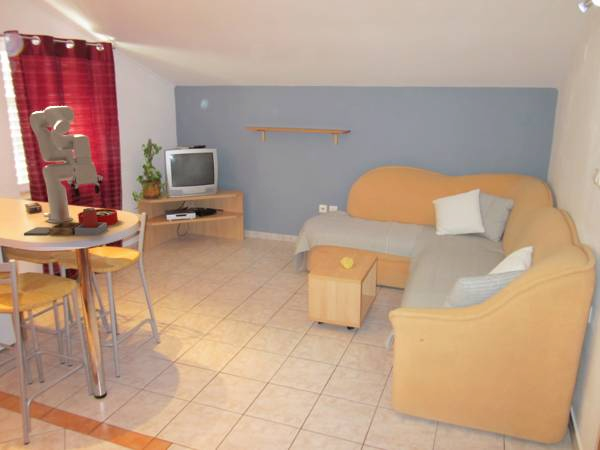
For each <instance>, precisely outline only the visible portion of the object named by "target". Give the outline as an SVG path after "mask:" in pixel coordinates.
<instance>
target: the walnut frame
mask: <svg viewBox="0 0 600 450" xmlns="http://www.w3.org/2000/svg"><path fill="white" fill-rule="evenodd" d="M81 224H82V223H79V222H60V223H56V224H54V225H52V226H50V227H51V228H49V232H50V234H49V236H74V235H75V229H74V228H76V227H78V226H80V225H81Z"/></svg>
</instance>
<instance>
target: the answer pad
mask: <svg viewBox="0 0 600 450" xmlns="http://www.w3.org/2000/svg"><path fill="white" fill-rule="evenodd" d="M51 227H52V226H44V227H43V226H37V227H34V228H32V229H30V230H27V231H26V232H23V235H24V236H48V235H49V236H50V232H49V228H51Z"/></svg>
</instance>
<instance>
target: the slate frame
mask: <svg viewBox="0 0 600 450" xmlns="http://www.w3.org/2000/svg"><path fill="white" fill-rule="evenodd" d="M74 229H75V234H74V235H75V236H99V235H101V234H102V233H103V232H105V231H107V230H108V226H107V223H98V227H97V228H84V223H83V224H81V225H80V226H78V227H76V228H74Z"/></svg>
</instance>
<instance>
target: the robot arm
mask: <svg viewBox="0 0 600 450" xmlns="http://www.w3.org/2000/svg"><path fill="white" fill-rule="evenodd" d="M74 120H75V113H74V110H73V109H72V108H71V107H70V106H67V105H64V106H63V105H61V106H59V105H57V106H56V105H55V106H53V105H52V106H48V107H46V108H45V109H44V110H43V111H42V110H40V111H39V110H38V111H34V112H32V113H30V115H29V123H30V126H31V127H30V128H31V129H32V132H33V133H34V135H35V137H36V140H37V143H38V146H39V147H38V148H39V152H40V155H41V157H42V160H43V161H44V162H46V163H52V164H47V165H44V167H43V168H42V175H43V179H44V182H45V186H46V194H47V200H48V207H49V212H46V213H44V214H43V217H44V218H47V222H48V223H51V224H52V223H56V224H59V223H68V222H70V221H72V220H74V219H73V216H71V215H70V213H69V202H68V196H67V189H66V186H65V185H63V184H62V182H63V181H67V183H68V185H69V186H70V187H72V188H73V190H74V195H75V197H80V196H81V195H80V189H79V186H80V185H89V184H90V185H91V184H94V193H95V194H97V195H100V193H99V192H100V186H101V183H102V182H103V179H104V176H103V175H100V174H97V173H98V172H97V169H96V166H95V163H94V162H93V161H92V152H91V151H92V150H91V143H90V137H89V136H88V135H84V134H79V133H78V134H77V133H76V134H67V133H68V132H69V131H70V129H71V125H72V124H71V123H72V122H73V121H74ZM48 128H51V130H49V129H48ZM53 162H61V163H53ZM73 181H74V183H73Z"/></svg>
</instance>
